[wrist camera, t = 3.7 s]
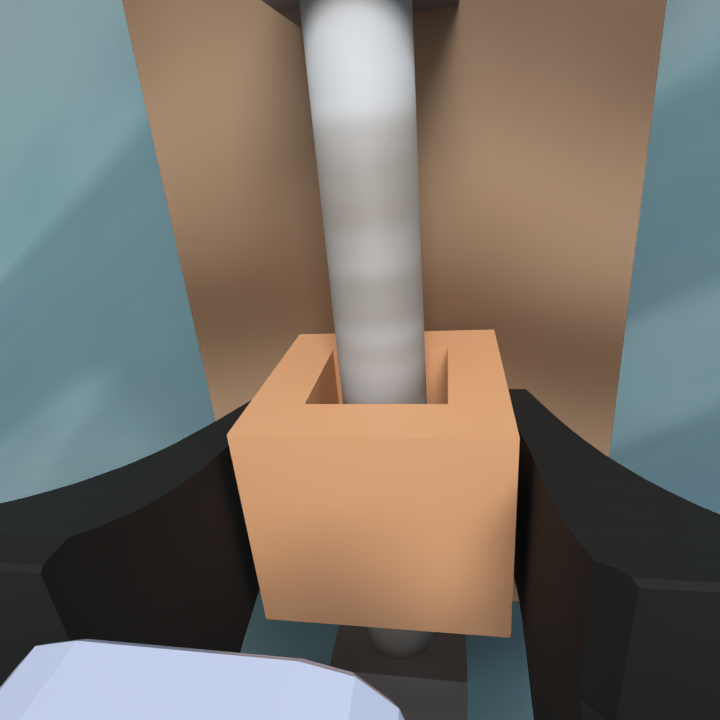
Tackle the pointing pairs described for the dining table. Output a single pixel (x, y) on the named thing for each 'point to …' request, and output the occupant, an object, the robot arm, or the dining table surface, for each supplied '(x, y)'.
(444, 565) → the slider
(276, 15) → the rail
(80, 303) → the dining table surface
